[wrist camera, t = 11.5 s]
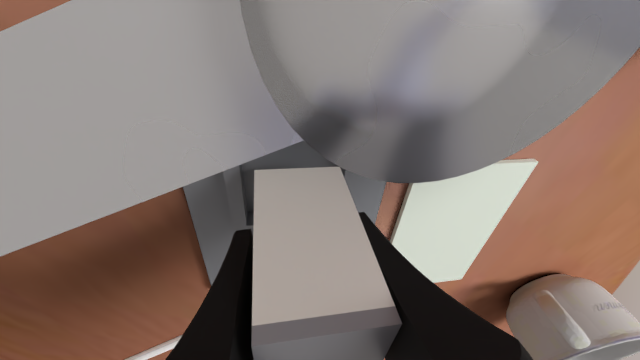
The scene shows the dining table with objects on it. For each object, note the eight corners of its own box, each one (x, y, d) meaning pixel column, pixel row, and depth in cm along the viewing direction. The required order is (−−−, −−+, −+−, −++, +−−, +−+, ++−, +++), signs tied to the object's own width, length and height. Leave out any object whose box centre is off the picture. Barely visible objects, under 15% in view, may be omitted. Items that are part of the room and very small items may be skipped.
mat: (533, 158, 20) (538, 161, 19) (459, 275, 28) (461, 279, 28) (416, 163, 18) (418, 167, 18) (374, 286, 26) (375, 290, 26)
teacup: (579, 287, 36) (647, 356, 29) (497, 321, 38) (544, 391, 32) (584, 232, 27) (680, 312, 21) (478, 280, 30) (537, 365, 23)
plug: (339, 166, 13) (402, 323, 8) (331, 224, 16) (374, 377, 10) (254, 169, 13) (251, 346, 7) (259, 230, 15) (260, 398, 9)
